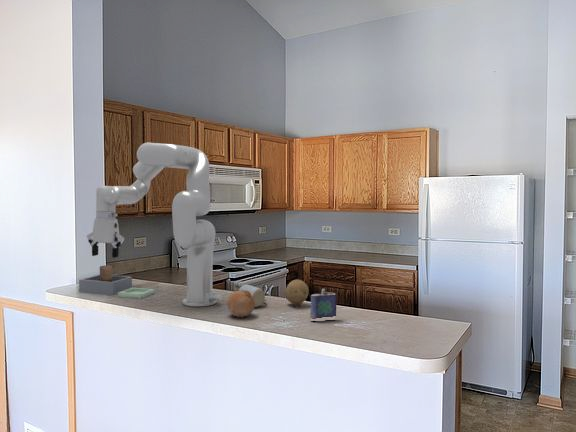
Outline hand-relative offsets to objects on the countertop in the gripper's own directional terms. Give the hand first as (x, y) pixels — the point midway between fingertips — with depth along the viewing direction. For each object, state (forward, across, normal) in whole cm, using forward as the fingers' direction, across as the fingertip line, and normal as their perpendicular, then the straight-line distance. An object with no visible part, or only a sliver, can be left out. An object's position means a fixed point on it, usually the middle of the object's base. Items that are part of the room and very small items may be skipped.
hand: (105, 256), depth 191 cm
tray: (+14, -18, +4) cm, 23 cm away
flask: (+12, -96, +15) cm, 98 cm away
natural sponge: (+13, -83, -1) cm, 84 cm away
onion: (+13, -68, +19) cm, 72 cm away
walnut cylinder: (+14, -1, 0) cm, 14 cm away
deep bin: (+14, -1, 0) cm, 14 cm away
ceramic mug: (+13, -67, +3) cm, 68 cm away
